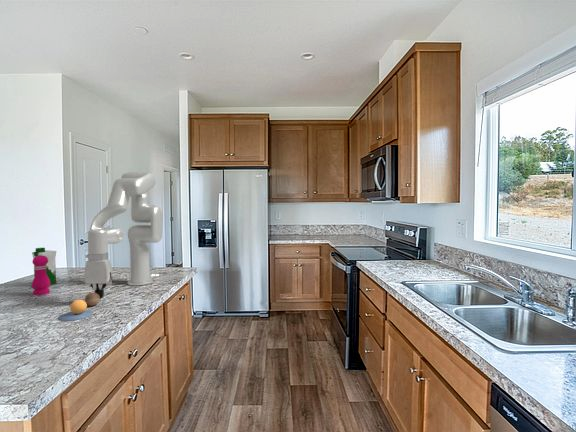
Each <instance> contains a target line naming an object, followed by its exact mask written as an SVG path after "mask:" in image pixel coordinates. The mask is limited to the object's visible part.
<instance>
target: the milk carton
mask: <svg viewBox="0 0 576 432" xmlns="http://www.w3.org/2000/svg"><path fill="white" fill-rule="evenodd" d="M40 252H41V253H42V256H46V257H47V258H48V263H47V264H46V265H47V268H46V274H47V276H48V278H49V280H50V286H53V285H56V284H57V274H56V273H57V272H56V271H57V269H56V257H57V250H49V249H48V250H46V248H45V247H36V248H35V251H31V255H32V258H33V259H34V258H35V257H36V256H38V253H40ZM33 259H32V260H33ZM34 266H35V265H34V264H33V267H34ZM33 272H34V274H33V275H34V277H35V269H34V268H33ZM34 277H33V278H34Z"/></svg>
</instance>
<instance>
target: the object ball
mask: <svg viewBox="0 0 576 432" xmlns="http://www.w3.org/2000/svg"><path fill="white" fill-rule="evenodd" d="M87 307H88V305H87V304H86V302H85V300H83V299H76V300H74V301H73V302H72V303H71V304H70V307H69V309H70V311H71V312H72V313H74V314H81V313H83V312H84V311H87Z"/></svg>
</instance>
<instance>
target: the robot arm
mask: <svg viewBox="0 0 576 432" xmlns="http://www.w3.org/2000/svg"><path fill="white" fill-rule="evenodd" d="M156 179H157V178H156V176H155V175H154V173H152V172H149V171H148V172H145V171H143V172H141V171H139V172H138V171H136V172H135V171H133V172H126V173H122V175H121V178H118V179H115V181H114V182H113V185H112V188H111V191H110V194H109V198H108V202H107V203H106V204H107V205H106V206H105V207H104V208H102V209H101V210H100V211H99V212H98V213H97V214H96V215H95V216H94V217H93V219H92V221H91V223H90V227H89V230H88V232H87V250H88V251H87V254H86V255H85V258H86V259H87V260H86V261H85V262H86V263H85V265H84V266H85V267H84V278H83V279H84V283H85V286H86V287H91V288H92V289H93V291H94V293H97V294H98V295H99V297H100V300H101V299H103V298H104V296H105V293H104V292H105V290H104V289H106V287H109V286H111V285H113V282H112V280H113V269H112V264H111V260H110V259H109V244H111V245H113V244H114V245H115V244H116V245H117V244H119V243H121V242H122V240H123V239H124V232H123V230H122V228H121V229H120V228H119V227H105V224H106V223H107V222H108V221H110V220H111V219H112V218H114V217H117V216H119V215H122V214H123V213H125V212H126V211H127V209H128V205H129V201H130V202H131V203H130V206H131V207H130V216H131V220H132V221H133V222H134V223H146V224H135V225H132V226H131V227H129V229H128V230H127V239H128V243H129V244H128V245H129V251H130V252H129V253H130V254H129V255H130V256H129V257H130V259H129V260H130V262H129V264H130V280H128V281H127V285H129V286H144V285H145V286H146V285H149V284H151V283H153V282H154V280H153V279H155V278H159V276H160V274H159V273H151V271H150V269H151V268H150V267H151V266H150V247H148V245H147V244H149V243H151V244H157V243H159V242H160V241H161V240H162V239H163V238H162V237H163V211H162V208H161V207H160V206H159V205H156V204H155V205H154V204H149V195H148V193H147V192H149V191H150V190H152V189H153V188H154V187H155V185H156V182H157V181H156ZM147 223H148V225H147ZM149 224H150V225H149Z"/></svg>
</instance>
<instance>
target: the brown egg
mask: <svg viewBox="0 0 576 432" xmlns="http://www.w3.org/2000/svg"><path fill="white" fill-rule="evenodd" d="M100 300H101V299H100V297H99V295H98V294H97V293H95V292H89V293H88V294H86V296H85V298H84V301H85V302H86V304H87V306H90V307H94V306H96V305H97V304H98V303H99V302H100Z"/></svg>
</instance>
